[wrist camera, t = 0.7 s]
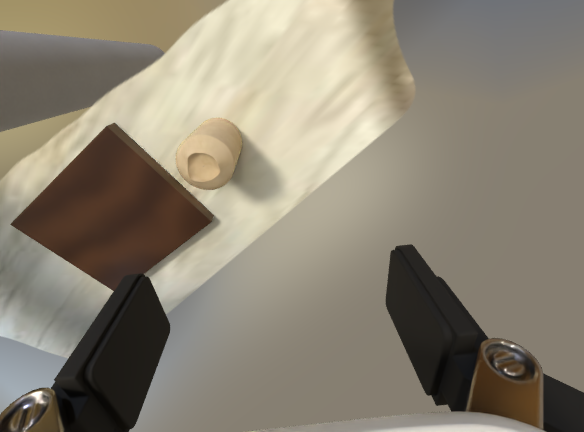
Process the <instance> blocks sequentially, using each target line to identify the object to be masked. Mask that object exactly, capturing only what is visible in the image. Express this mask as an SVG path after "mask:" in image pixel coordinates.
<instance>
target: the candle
mask: <svg viewBox="0 0 584 432" xmlns="http://www.w3.org/2000/svg"><path fill="white" fill-rule="evenodd" d="M241 148H242V138H241V135H240V132H239V130H238V129H237V127H236V126H235V125H234V124H233V123H231V122H230V121H228V120H226V119H222V118H211V119H208V120H206V121H205V122H203V123H202V124H201V125H200V126H199V127H198V128H197V129H196V130H195V131H194V132H192V133H191V134H190V135H189V136H188V137H187V138H186V139H185V140H184V141H183V142H182V143H181V144H180V146H179V148H178V150H177V153H176V165H177V168H178V171H179V173H180V174H181V176H182V177H183V178H184V179H185V180H186V181H187V182H188V183H189V184H191V185H193V186H195V187H197V188H200V189H205V190H213V189H217V188H220V187H222V186H224V185H225V184H226V183H227V182H228V181H229V180H230V179H231V177H232V175H233V172H234V169H235V166H236V164H237V161H238V158H239V155H240V152H241Z"/></svg>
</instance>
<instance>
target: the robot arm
mask: <svg viewBox="0 0 584 432" xmlns="http://www.w3.org/2000/svg"><path fill="white" fill-rule="evenodd" d="M386 307H387V310H388V312H389V314H390V316H391V319H392V320H393V323H394V325H395V327H396V330H397V332H398V334H399V336H400V338H401V341H402V343H403V345H404V347H405V349H406V352H407V354H408V356H409V358H410V360H411V363H412V365H413V367H414V369H415V371H416V374H417V376H418V378H419V380H420V383H421V384H422V387H423V389H424V391H425V393H426V394H427V395H432V397H433V400H434V401H435V404H436V405H437V406H438V405H447V404H448V406H449V408H450V410H451V412H431V413H420V414H408V415H397V416H385V417H376V418H367V419H357V420H348V421H338V422H329V423H319V424H311V425H301V426H293V427H283V428H274V429H265V430H256V431H247V432H584V393H583V392H581V391H579V390H577V389H575V388H573V387H571V386H568V385H566V384H564V383H562V382H560V381H558V380H556V379H554V378H552V377H550V376H547V375H545V374H543V371H542V367H541V366H540V364H539V362H538V361H537V359H536V358H535V357H534V356H533V355H532V354H531V353H530V352H529V351H527V350H526V349H524V348H523V347H522V346H520V345H518V344H516V343H514V342H512V341H509V340H505V339H500V338H491V339H488V337H487V336H486V335H485V333H484V332H483V331H482V329H481V328H480V327H479V325H478V324H477V323H476V322H475V320H474V319H473V318H472V316H471V315H470V314H469V312H468V311H467V310H466V308H465V307H464V306H463V305H462V303H461V302H460V301H459V299H458V298H457V297H456V295H455V294H454V293H453V291H452V290H451V289H450V287H449V286H448V285H447V284H446V282H445V281H444V280H443V279H442V278H441V277H436V275H435V274H434V273H433V271H432V270H431V269H430V267H429V266H428V265H427V264H426V262H425V261H424V259H423V258H422V257H421V255H420V254H419V253H418V251H417V250H416V249H415V247H414V246H413V245H402V246H396V248H395V250H392V251H391V255H390V264H389V274H388V284H387V293H386ZM169 333H170V323H169V321H168V319H167V317H166V314H165V312H164V310H163V307H162V305H161V303H160V301H159V298H158V296H157V294H156V292H155V289H154V287H153V285H152V283H151V280H150V279H149V277H145V275H144V274H141V273H140V274H131V275H126V276H124V277H123V279H122V280H121V282H120V283H119V284H118V286H117V287H116V289H115V290H114V292H113V293H112V295H111V296H110V298H109V299H108V301H107V302H106V304H105V305H104V307H103V308H102V310H101V311H100V313H99V314H98V316H97V317H96V319H95V320H94V322H93V323H92V325H91V326H90V327H89V329H88V330H87V332H86V333H85V335H84V336H83V338H82V339H81V341H80V342H79V344H78V345H77V347H76V348H75V350H74V351H73V353H72V354H71V356H70V357H69V359H68V360H67V362H66V363H65V365H64V366H63V368H62V369H61V371H60V372H59V373H58V375H57V377H56V378H55V379H54V380H55V383H54V384H53V386H52V387H51V389H50V388H39V389H36V390H32V391H30V392H28V393H26V394H25V395H22V396H21V397H20V398H18V399H17V400H15V401H14V402H13V403H11V404H10V405H9V406H8V407H7V408H6V409H5V410H4V411H3V412H2V413H1V414H0V432H129V430H130V429H132V428H133V427H134V426H135V424H136V422H137V419H138V417H139V414H140V411H141V409H142V406H143V403H144V400H145V398H146V395H147V392H148V389H149V387H150V384H151V381H152V379H153V376H154V373H155V371H156V368H157V366H158V363H159V360H160V357H161V354H162V352H163V349H164V347H165V344H166V341H167V339H168V336H169Z"/></svg>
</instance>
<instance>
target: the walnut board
mask: <svg viewBox="0 0 584 432" xmlns="http://www.w3.org/2000/svg"><path fill="white" fill-rule="evenodd" d="M213 216H214V215H213V214H212V213H211V212H210V211H209V210H208V209H206V208H205V207H204V206H203V205H202V204H201V203H200V202H199V201H198V200H197V199H196V198H195V197H194V196H192V195H191V194H190V193H189V192H188V191H187V190H186V189H185V188H184V187H183V186H182V185H181V184H180V183H178V182H177V181H176V180H175V179H174V178H173V177H172V176H171V175H170V174H169V173H168V172H167V171H166V170H164V169H163V168H162V167H161V166H160V165H159V164H158V163H157V162H156V161H155V160H154V159H153V158H152V157H150V156H149V155H148V154H147V153H146V152H145V151H144V150H143V149H142V148H141V147H140V146H139V145H138V144H137V143H135V142H134V141H133V140H132V139H131V138H130V137H129V136H128V135H127V134H126V133H125V132H124V131H123V130H121V129H120V128H119V127H118V126H117V125H116V124H115V123H113V124H111V125H108V126H106V127H105V128H104V129H103V130H102V131H101V132H100V133H99V134H98V135H97V136H96V137H95V138H94V139H93V140H92V142H91V143H90V144H89V145H88V146H87V147H86V148H85V149H84V150H83V151H82V152H81V153H80V154H79V155H78V156H77V157H76V158H75V159H74V160H73V161H72V162H71V163H70V164H69V165H68V166H67V167H66V168H65V169H64V170H63V171H62V172H61V173H60V174H59V175H58V176H57V177H56V178H55V179H54V180H53V181H52V182H51V183H50V184H49V185H48V186H47V187H46V189H45V190H44V191H43V192H42V193H41V194H40V195H39V196H38V197H37V198H36V199H35V200H34V201H33V202H32V203H31V204H30V205H29V206H28V207H27V208H26V209H25V210H24V211H23V212H22V213H21V214H20V215H19V216H18V217H17V218H16V219H15V220H14V221H13V222H12V223H11V224H10V225H12V226H13V227H15V228H16V229H18V230H20V231H21V232H23V233H24V234H26V235H27V236H29V237H30V238H32V239H34V240H35V241H37V242H38V243H40V244H41V245H43V246H44V247H46V248H48V249H49V250H51V251H52V252H54V253H55V254H57V255H58V256H60V257H62V258H63V259H65V260H66V261H68V262H69V263H71V264H73V265H74V266H76V267H77V268H79V269H80V270H82V271H83V272H85V273H87V274H88V275H90V276H91V277H93V278H94V279H96V280H97V281H99V282H101V283H102V284H104V285H105V286H107V287H108V288H110V289H111V290H113V291H114V290H115V289H116V287H117V286H118V284H119V283H120V282H121V280H122V279H123V277H124V276H126V275H131V274H140V273H141V274H144V273H145V272H147V271H148V270H149V269H150V268H152V267H153V266H154V265H156V264H157V263H158V262H160V261H161V260H162V259H164V258H165V257H166V256H168V255H169V254H170V253H171V252H173V251H174V250H175V249H177V248H178V247H179V246H181V245H182V244H183V243H185V242H186V241H187V240H188V239H190V238H191V237H192V236H194V235H195V234H196V233H198V232H199V231H200V230H202V229H203V228H204V227H205V226H207V225H208V224H209V223H211V222H212V219H213Z"/></svg>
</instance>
